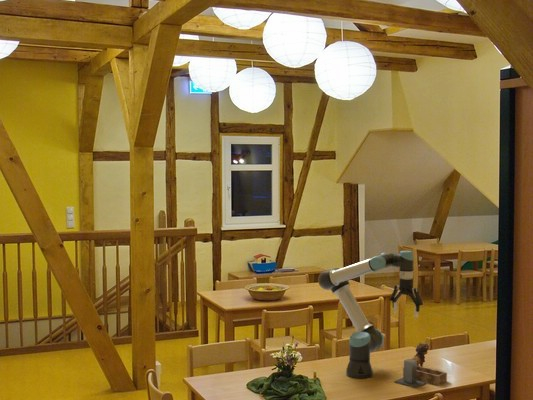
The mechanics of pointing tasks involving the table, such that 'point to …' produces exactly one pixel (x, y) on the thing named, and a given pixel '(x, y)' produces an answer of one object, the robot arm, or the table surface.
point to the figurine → (421, 354)
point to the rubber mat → (415, 385)
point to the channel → (430, 375)
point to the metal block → (410, 371)
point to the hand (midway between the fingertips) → (405, 315)
